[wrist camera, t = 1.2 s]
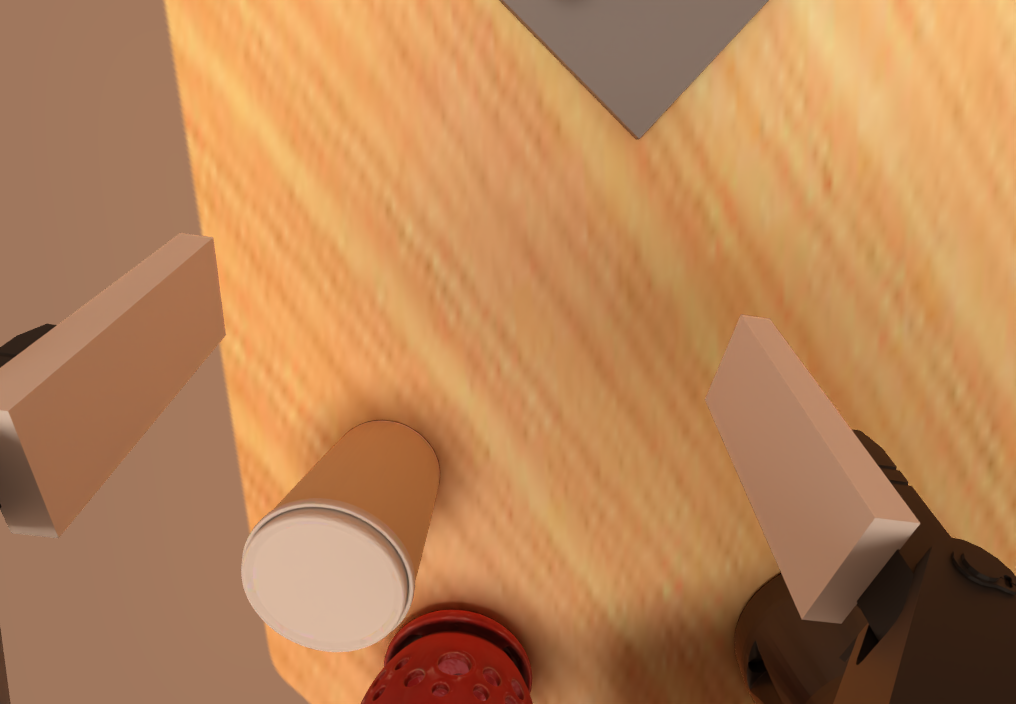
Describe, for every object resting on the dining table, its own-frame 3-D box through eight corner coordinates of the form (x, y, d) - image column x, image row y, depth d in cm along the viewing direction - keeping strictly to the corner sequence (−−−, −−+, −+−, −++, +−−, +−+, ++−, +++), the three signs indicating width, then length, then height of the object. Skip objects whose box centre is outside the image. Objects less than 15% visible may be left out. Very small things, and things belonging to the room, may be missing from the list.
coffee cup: (298, 442, 42) (199, 553, 30) (405, 386, 39) (341, 483, 28) (371, 541, 44) (304, 678, 33) (476, 493, 42) (444, 622, 30)
